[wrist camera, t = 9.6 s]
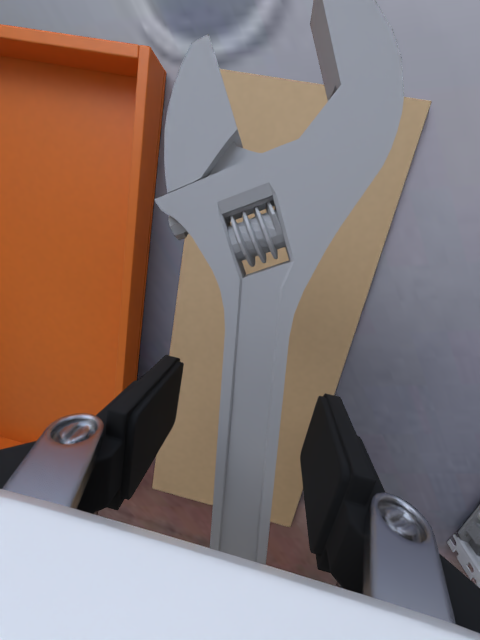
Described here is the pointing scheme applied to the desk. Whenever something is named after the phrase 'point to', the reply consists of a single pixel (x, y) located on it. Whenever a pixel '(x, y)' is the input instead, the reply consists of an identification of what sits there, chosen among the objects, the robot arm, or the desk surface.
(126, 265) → the tool tray
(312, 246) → the adjustable wrench
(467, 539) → the graphics card
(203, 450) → the desk mat
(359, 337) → the desk surface
